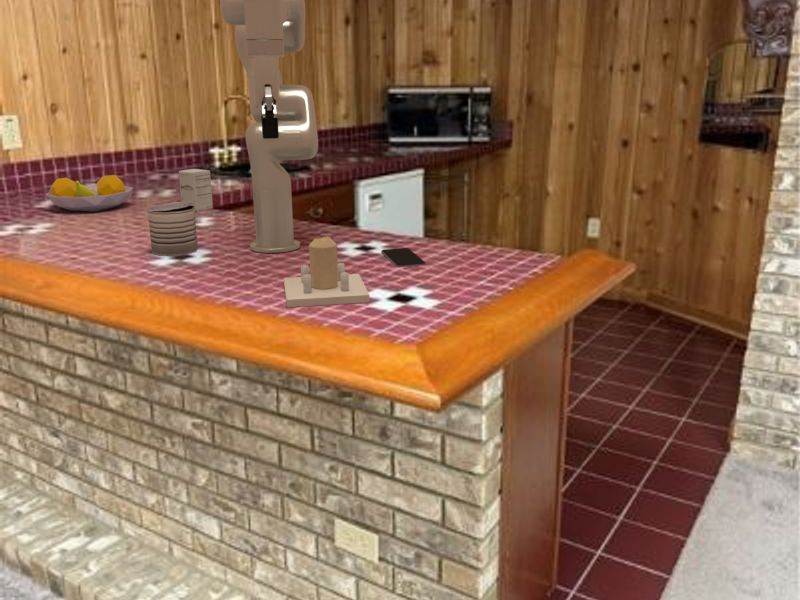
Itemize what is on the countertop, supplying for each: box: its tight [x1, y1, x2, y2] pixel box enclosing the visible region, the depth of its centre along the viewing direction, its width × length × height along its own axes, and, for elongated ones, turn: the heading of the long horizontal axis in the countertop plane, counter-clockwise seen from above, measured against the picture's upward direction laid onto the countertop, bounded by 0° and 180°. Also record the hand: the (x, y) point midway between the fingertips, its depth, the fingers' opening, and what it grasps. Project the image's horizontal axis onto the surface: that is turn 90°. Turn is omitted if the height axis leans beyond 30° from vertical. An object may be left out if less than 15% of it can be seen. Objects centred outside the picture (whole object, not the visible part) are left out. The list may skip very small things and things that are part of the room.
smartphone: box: [380, 247, 427, 268], centre depth 179 cm, size 7×1×15 cm
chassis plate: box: [283, 262, 371, 308], centre depth 150 cm, size 16×16×5 cm
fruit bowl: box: [45, 174, 134, 212], centre depth 245 cm, size 28×27×11 cm
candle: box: [308, 236, 338, 289], centre depth 150 cm, size 6×6×10 cm
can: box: [146, 201, 199, 257], centre depth 186 cm, size 11×11×12 cm
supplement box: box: [178, 168, 214, 212], centre depth 243 cm, size 7×7×13 cm
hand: (270, 136), depth 155 cm, fingers open, 9 cm apart
